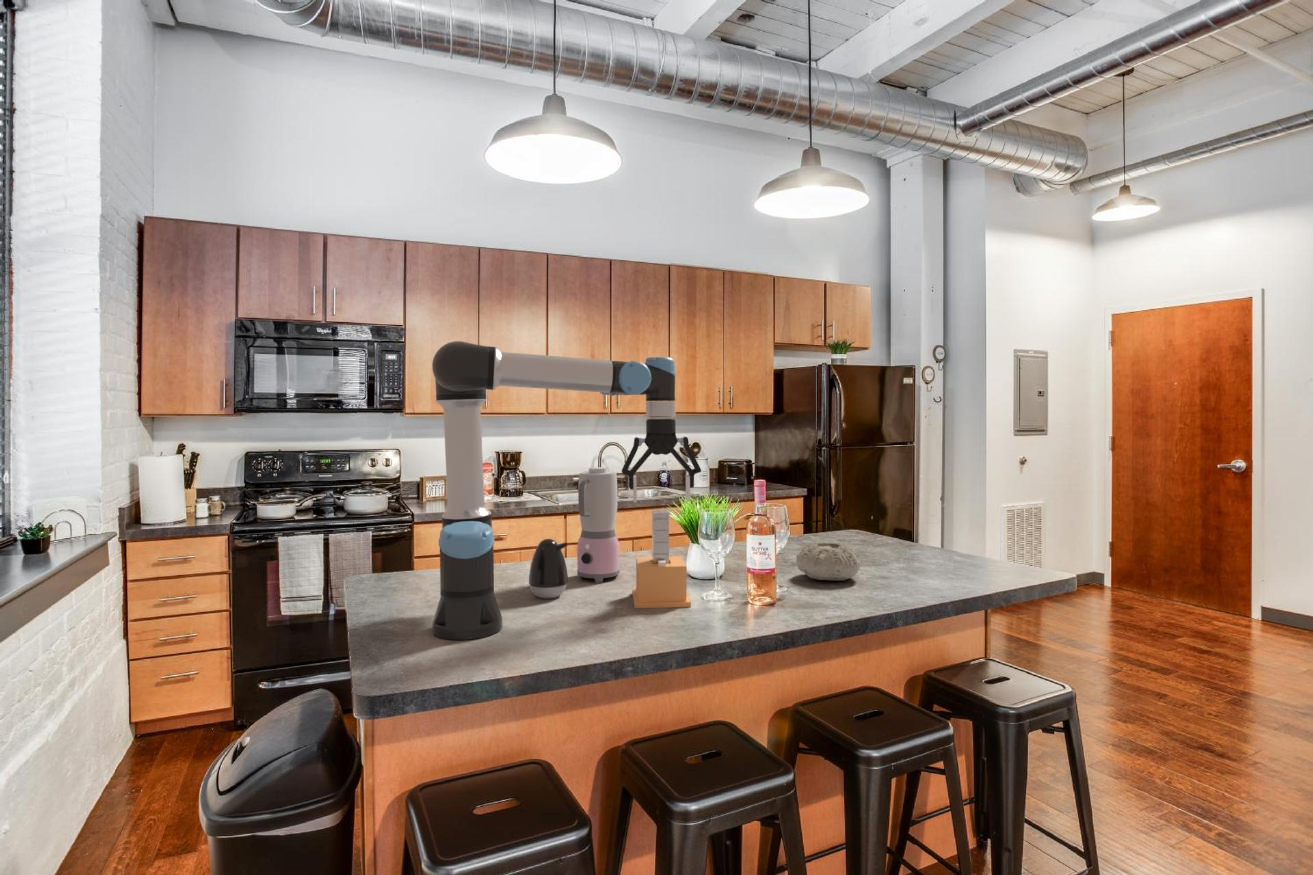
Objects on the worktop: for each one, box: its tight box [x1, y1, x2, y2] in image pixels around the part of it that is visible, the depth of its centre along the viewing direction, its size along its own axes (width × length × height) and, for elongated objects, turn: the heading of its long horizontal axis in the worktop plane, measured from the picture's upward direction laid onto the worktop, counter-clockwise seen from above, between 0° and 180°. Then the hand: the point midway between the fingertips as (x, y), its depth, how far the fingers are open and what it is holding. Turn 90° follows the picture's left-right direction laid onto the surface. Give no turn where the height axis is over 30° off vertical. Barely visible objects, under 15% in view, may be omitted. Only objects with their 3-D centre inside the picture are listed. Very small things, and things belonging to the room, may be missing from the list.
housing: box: [631, 555, 692, 609], centre depth 185 cm, size 14×14×11 cm
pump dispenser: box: [528, 538, 569, 600], centre depth 189 cm, size 10×10×15 cm
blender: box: [576, 466, 620, 583], centre depth 208 cm, size 16×12×32 cm
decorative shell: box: [796, 541, 861, 582], centre depth 208 cm, size 18×18×10 cm
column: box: [651, 509, 670, 564], centre depth 185 cm, size 6×4×22 cm
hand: (661, 501), depth 184 cm, fingers open, 13 cm apart
